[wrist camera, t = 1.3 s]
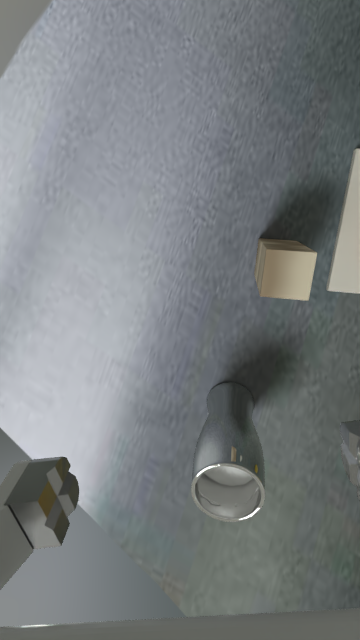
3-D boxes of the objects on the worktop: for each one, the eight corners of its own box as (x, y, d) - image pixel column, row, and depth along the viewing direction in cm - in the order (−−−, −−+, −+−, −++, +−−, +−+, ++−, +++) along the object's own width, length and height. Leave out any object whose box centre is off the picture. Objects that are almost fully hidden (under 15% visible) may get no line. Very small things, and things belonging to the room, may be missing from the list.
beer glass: (234, 368, 42) (234, 448, 28) (268, 408, 44) (284, 504, 29) (192, 396, 45) (173, 484, 31) (225, 433, 46) (221, 534, 32)
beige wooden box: (296, 240, 37) (317, 252, 27) (290, 277, 38) (308, 300, 29) (258, 238, 37) (266, 249, 28) (254, 274, 38) (260, 296, 29)
